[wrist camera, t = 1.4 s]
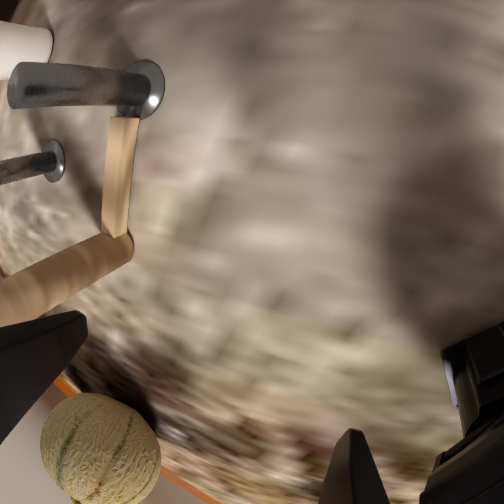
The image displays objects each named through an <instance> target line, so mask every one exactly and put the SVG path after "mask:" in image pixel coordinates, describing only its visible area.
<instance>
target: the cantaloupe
mask: <svg viewBox="0 0 504 504" xmlns="http://www.w3.org/2000/svg"><path fill="white" fill-rule="evenodd" d="M40 451H41V456H42V460H43V463H44V466H45V468H46V470H47V472H48V473H49V475H50V476H51V478H52V479H53V481H54V482H55V483H56V484H57V485H58V486H59V487H60V488H61V489H62V490H63V491H64V492H66V493H67V494H68V495H69V496H70V497H71V499H72V502H73V503H74V504H81V503H84V504H137V503H139V502H140V501H141V500H143V499H144V498H145V497H147V495H148V494H149V493H150V491H151V490H152V488H153V486H154V485H155V483H156V481H157V479H158V477H159V473H160V469H161V452H160V446H159V443H158V441H157V438H156V436H155V434H154V432H153V430H152V429H151V427H150V426H149V425H148V424H147V422H146V421H145V420H144V418H143V417H142V416H141V415H140V414H139V413H138V412H137V411H136V410H135V409H133V408H131V407H129V406H128V405H126V404H124V403H121V402H119V401H117V400H115V399H113V398H110V397H108V396H105V395H102V394H97V393H80V394H76V395H73V396H71V397H68V398H67V399H65V400H63V401H62V402H60V403H59V404H58V405H57V406H56V407H55V408H54V409H53V410H52V412H51V413H50V414H49V416H48V418H47V420H46V421H45V423H44V426H43V429H42V432H41V440H40ZM80 502H81V503H80Z"/></svg>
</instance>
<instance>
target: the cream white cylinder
mask: <svg viewBox="0 0 504 504" xmlns="http://www.w3.org/2000/svg"><path fill="white" fill-rule="evenodd" d="M52 46H53V38H52V34H51V32H50V31H49V30H48V29H46V28H40V27H32V26H26V25H21V24H16V23H10V22H4V21H0V80H6V79H10V76H11V73H12V71H13V69H14V68H15V66H16V65H17V64H18V63H20V62H45V63H47V62H48V60H49V58H50V55H51V51H52Z"/></svg>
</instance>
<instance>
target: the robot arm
mask: <svg viewBox="0 0 504 504" xmlns="http://www.w3.org/2000/svg"><path fill="white" fill-rule="evenodd" d="M87 336H88V328H87V319H86V316H85V315H84V314H82V313H81V312H79V311H77V310H73V311H69V312H65V313H60V314H56V315H52V316H47V317H43V318H39V319H34V320H30V321H25V322H21V323H17V324H12V325H7V326H3V327H0V445H1V444H2V442H3V441H4V440H5V438H6V437H7V436H8V435H9V433H10V432H11V431H12V430H13V428H14V427H15V426H16V425H17V424H18V422H19V421H20V420H21V419H22V418H23V416H24V415H25V414H26V413H27V412H28V410H29V409H30V408H31V407H32V406H33V404H34V403H35V402H36V401H37V400H38V399H39V397H40V396H41V395H42V394H43V393H44V392H45V390H46V389H47V388H48V387H49V386H50V385H51V384H52V383H53V381H54V380H55V379H56V378H57V377H58V376H59V375H60V374H61V372H62V371H63V370H64V369H65V367H66V366H67V365H68V363H69V362H70V361H71V359H72V358H73V356H74V355H75V354H76V352H77V351H78V350H79V348H80V347H81V345H82V344H83V343H84V341H85V340H86V338H87ZM448 354H450V355H449V356H446V355H448ZM441 358H442V362H443V365H444V369H445V373H446V377H447V381H448V385H449V389H450V394H451V398H452V403H453V407H454V409H459V413H460V419H461V425H462V431H463V438H464V439H462V440H461V441H460V442H458V443H457V444H456V445H454V446H453V447H451V448H450V449H449V450H447V451H446V452H442V453H441V454H439V455H438V456H437V458H436V461H435V464H434V468H433V471H432V474H431V475H430V476H429V478H428V481H427V484H426V487H425V490H424V491H423V492H422V493H421V494H420V497H419V504H504V322H503V323H501V324H499V325H497V326H495V327H493V328H491V329H489V330H487V331H484V332H482V333H480V334H478V335H476V336H474V337H471V338H469V339H467V340H465V341H462V342H460V343H458V344H455V345H453V346H451V347H448V348H446V349H444V350H443V351H442V353H441ZM318 504H390V503H389V500H388V497H387V495H386V492H385V489H384V486H383V484H382V481H381V478H380V476H379V473H378V470H377V468H376V465H375V462H374V460H373V457H372V454H371V452H370V449H369V447H368V444H367V441H366V439H365V436H364V434H363V432H362V431H361V430H357V429H353V428H349V429H348V430H347V431H346V432H345V433H344V435H343V436H342V437H341V438H340V439H339V441H338V442H337V444H336V446H335V449H334V452H333V455H332V459H331V462H330V465H329V468H328V471H327V474H326V477H325V480H324V483H323V486H322V490H321V494H320V498H319V503H318Z"/></svg>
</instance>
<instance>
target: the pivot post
mask: <svg viewBox="0 0 504 504" xmlns="http://www.w3.org/2000/svg"><path fill="white" fill-rule="evenodd" d="M164 91H165V79H164V75H163V73H162V71H161V69H160V68H159V67H158V66H157V65H156V64H154V63H152V62H149V61H139V62H136V63H134V64H132V65H130V66H129V67H128V68H127V69H126V70H125V71H120V70H114V69H107V68H99V67H91V66H82V65H72V64H60V63H45V62H20V63H18V64H17V65H16V66H15V68H14V69H13V71H12V73H11V76H10V79H9V83H8V89H7V98H8V103H9V106H10V107H11V108H12V109H20V108H33V107H49V106H84V105H99V106H117V108H118V110H119V111H120V113H121V114H122V115H123V116H126V117H133V118H140V119H139V120H142V119H145V118H147V117H149V116H150V115H152V114H153V113H154V112H155V111H156V109H157V108H158V107H159V105H160V103H161V101H162V99H163V96H164Z"/></svg>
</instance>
